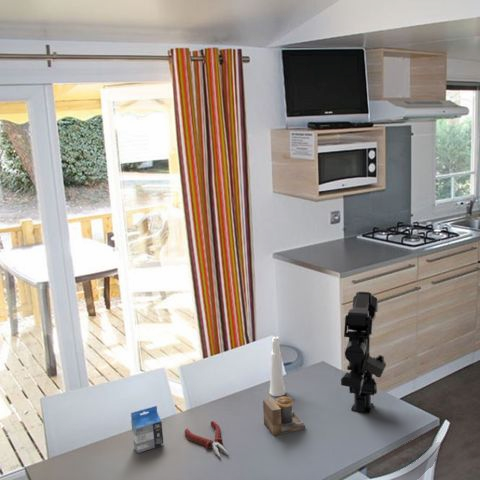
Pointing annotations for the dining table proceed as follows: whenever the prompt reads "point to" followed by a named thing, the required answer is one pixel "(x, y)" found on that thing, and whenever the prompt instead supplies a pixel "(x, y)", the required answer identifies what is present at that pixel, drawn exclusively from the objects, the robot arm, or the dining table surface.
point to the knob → (285, 410)
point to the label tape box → (146, 429)
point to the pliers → (207, 442)
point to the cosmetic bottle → (276, 370)
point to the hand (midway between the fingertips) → (358, 395)
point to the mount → (278, 419)
